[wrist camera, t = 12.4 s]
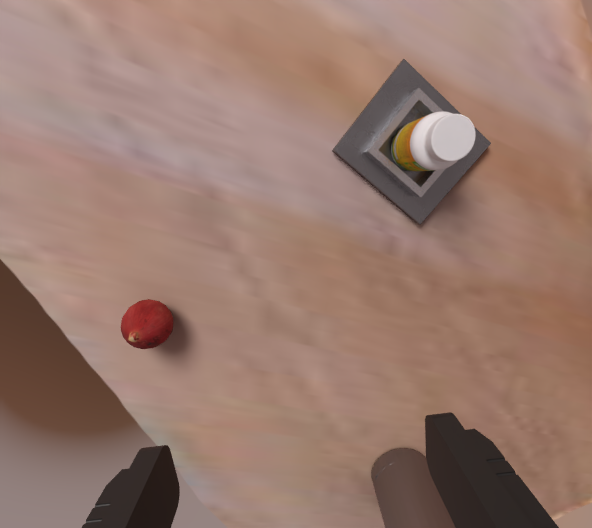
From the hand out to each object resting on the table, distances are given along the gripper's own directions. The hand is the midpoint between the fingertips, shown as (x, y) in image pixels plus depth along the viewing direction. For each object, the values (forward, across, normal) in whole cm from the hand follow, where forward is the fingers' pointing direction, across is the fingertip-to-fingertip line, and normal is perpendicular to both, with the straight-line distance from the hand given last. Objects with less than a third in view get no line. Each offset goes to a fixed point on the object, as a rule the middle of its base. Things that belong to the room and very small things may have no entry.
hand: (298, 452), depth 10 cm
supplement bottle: (+32, -16, -10) cm, 37 cm away
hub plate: (+33, -16, -10) cm, 38 cm away
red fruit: (+33, +18, +7) cm, 39 cm away
